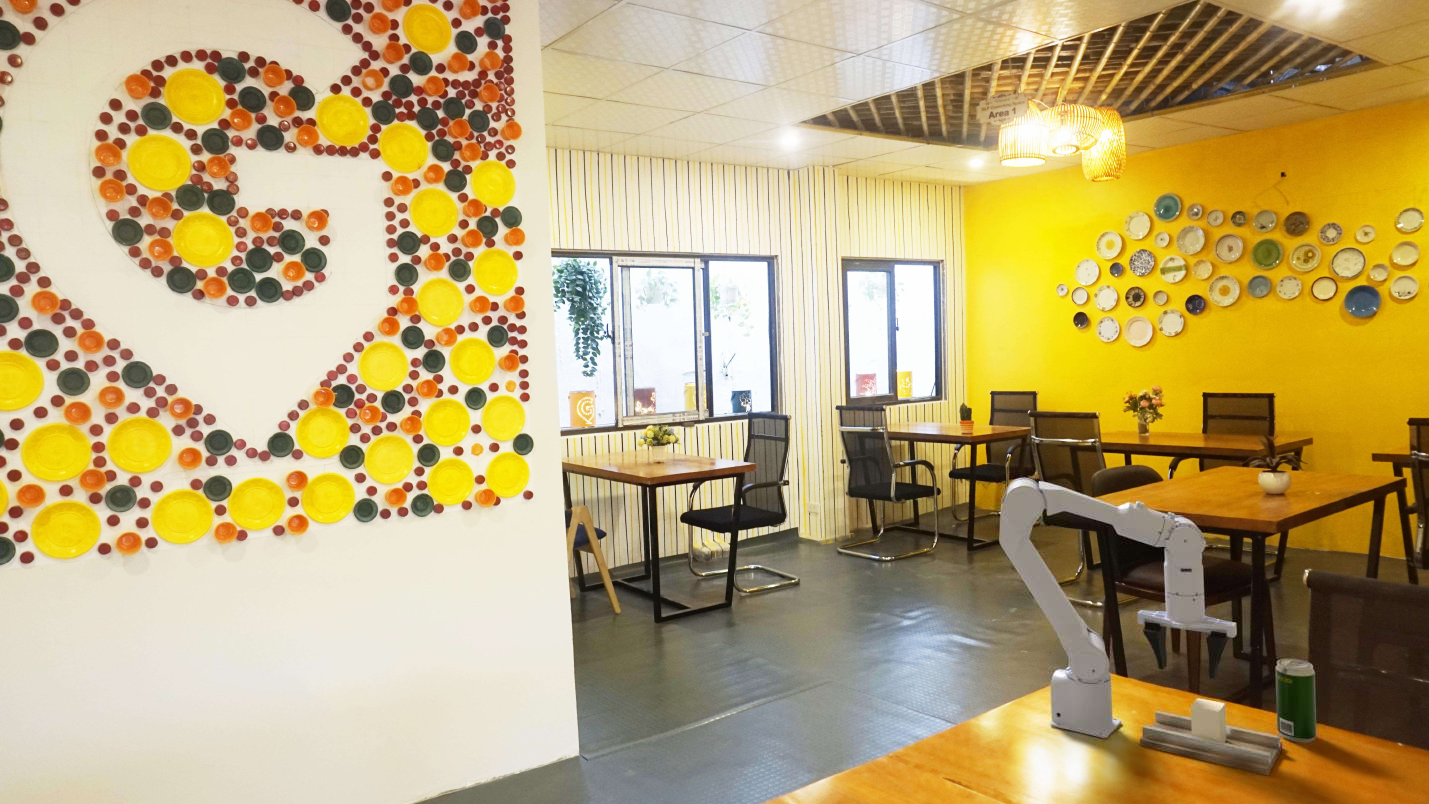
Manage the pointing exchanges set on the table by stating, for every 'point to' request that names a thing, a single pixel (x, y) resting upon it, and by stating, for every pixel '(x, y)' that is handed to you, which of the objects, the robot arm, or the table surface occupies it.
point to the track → (1213, 744)
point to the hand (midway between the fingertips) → (1187, 671)
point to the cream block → (1208, 720)
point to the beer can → (1296, 700)
